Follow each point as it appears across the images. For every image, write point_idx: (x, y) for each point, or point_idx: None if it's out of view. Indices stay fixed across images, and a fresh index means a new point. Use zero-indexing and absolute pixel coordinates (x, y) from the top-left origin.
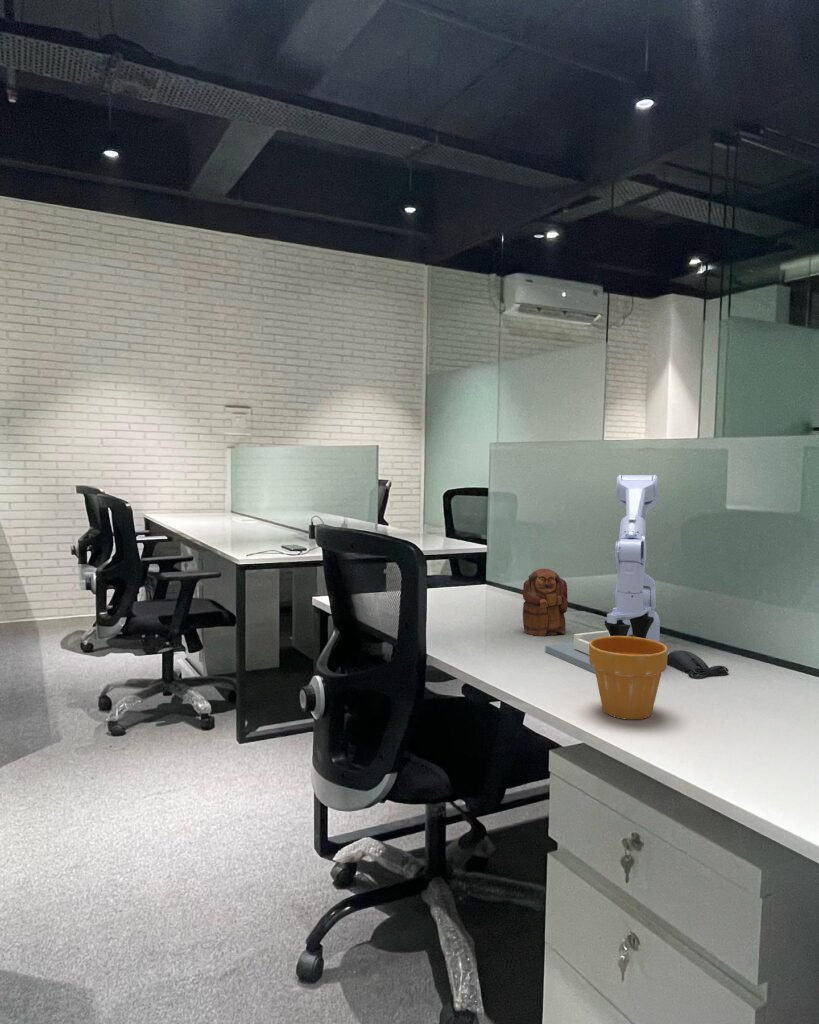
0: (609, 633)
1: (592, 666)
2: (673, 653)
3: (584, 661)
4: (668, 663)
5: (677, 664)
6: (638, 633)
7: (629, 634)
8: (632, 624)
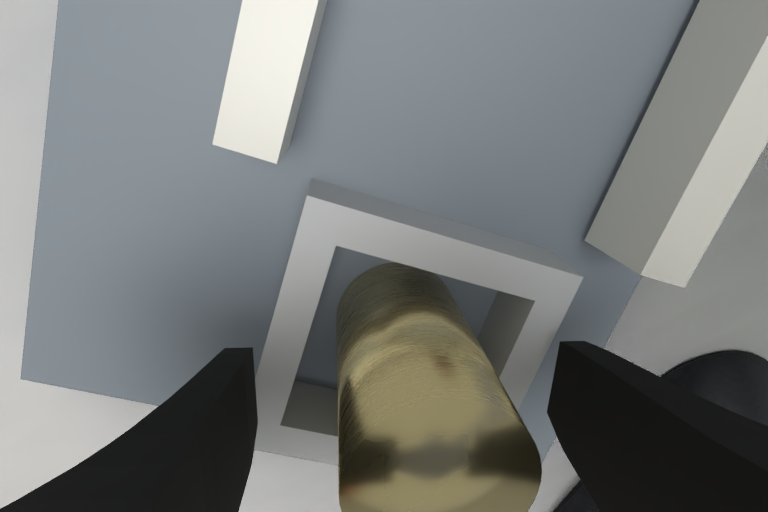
0: (54, 482)
1: (44, 202)
2: None
3: (64, 70)
4: None
5: None
6: (643, 484)
7: (508, 463)
8: (758, 502)
